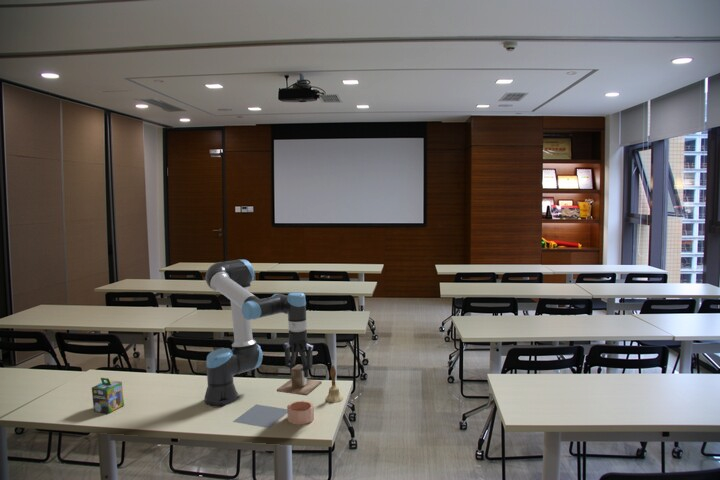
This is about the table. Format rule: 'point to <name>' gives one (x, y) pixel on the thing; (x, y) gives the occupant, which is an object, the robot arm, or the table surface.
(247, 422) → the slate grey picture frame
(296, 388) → the walnut lid
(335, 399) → the hand bell
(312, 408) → the terracotta bowl
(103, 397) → the chalk box
